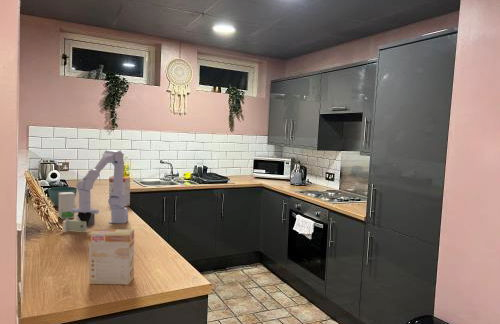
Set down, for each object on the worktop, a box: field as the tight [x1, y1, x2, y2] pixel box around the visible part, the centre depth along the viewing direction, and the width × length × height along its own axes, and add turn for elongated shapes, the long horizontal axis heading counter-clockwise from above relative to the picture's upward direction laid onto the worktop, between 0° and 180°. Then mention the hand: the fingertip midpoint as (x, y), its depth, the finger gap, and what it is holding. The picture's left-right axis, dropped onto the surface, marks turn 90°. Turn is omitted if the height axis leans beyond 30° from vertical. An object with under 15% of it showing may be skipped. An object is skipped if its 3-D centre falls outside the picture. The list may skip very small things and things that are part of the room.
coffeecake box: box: [88, 228, 135, 286], centre depth 141 cm, size 15×7×20 cm, turn 92°
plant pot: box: [47, 186, 78, 207], centre depth 261 cm, size 18×18×12 cm
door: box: [68, 219, 87, 233], centre depth 202 cm, size 2×10×6 cm, turn 81°
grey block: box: [88, 213, 96, 226], centre depth 218 cm, size 4×5×6 cm
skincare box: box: [57, 192, 76, 220], centre depth 230 cm, size 8×7×16 cm
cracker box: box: [108, 175, 131, 207], centre depth 269 cm, size 14×6×21 cm, turn 73°
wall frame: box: [62, 214, 80, 233], centre depth 209 cm, size 2×18×6 cm, turn 0°
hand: (84, 225), depth 204 cm, fingers closed
